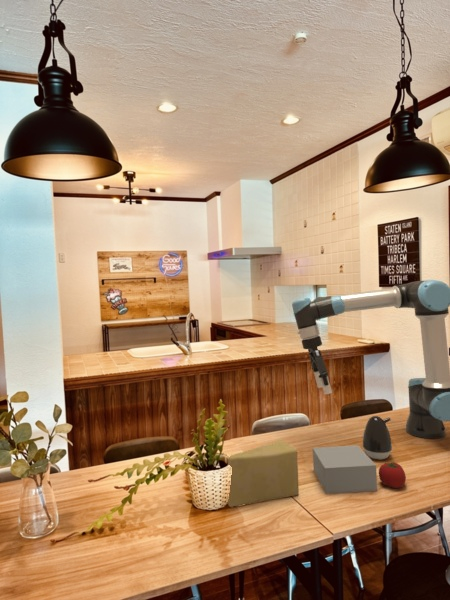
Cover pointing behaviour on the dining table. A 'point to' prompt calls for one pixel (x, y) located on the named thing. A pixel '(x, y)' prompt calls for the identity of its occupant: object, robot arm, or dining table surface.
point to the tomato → (392, 475)
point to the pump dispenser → (377, 438)
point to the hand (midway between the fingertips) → (324, 390)
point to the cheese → (263, 474)
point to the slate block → (344, 469)
